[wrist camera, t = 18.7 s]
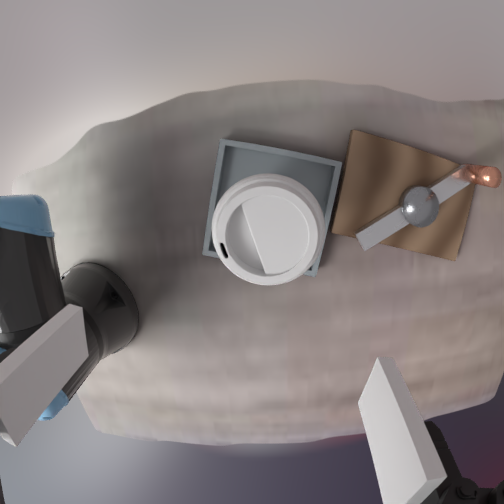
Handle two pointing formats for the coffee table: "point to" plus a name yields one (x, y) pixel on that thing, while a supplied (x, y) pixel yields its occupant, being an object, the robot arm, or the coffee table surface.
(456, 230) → the crank base
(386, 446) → the robot arm
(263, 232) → the coffee cup
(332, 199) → the tray
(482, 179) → the crank
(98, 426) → the coffee table surface
